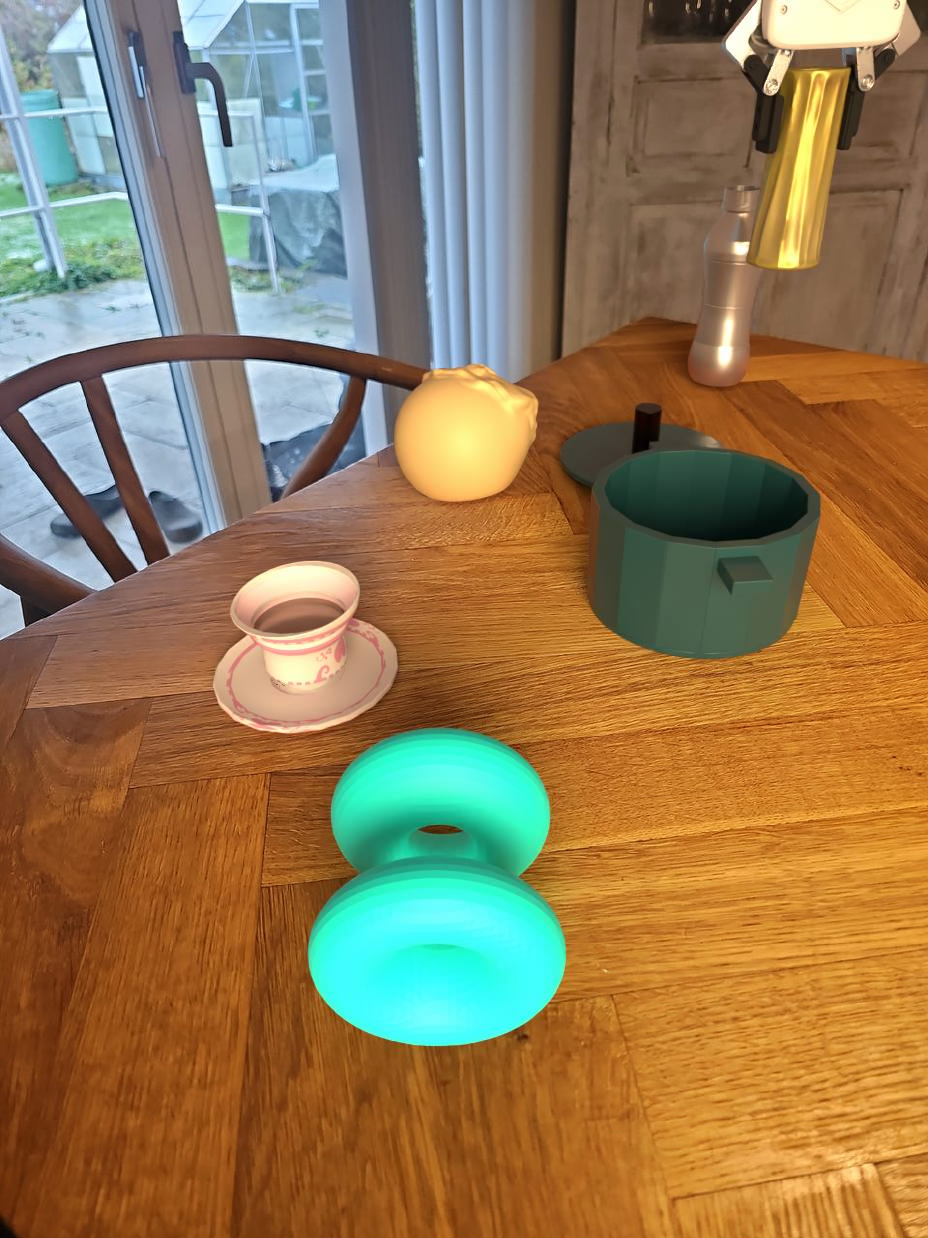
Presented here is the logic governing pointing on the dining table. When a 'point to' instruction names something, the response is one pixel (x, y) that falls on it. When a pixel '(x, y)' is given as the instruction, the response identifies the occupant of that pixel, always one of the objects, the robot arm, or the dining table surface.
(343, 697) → the teacup
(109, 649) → the dining table surface
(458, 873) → the turquoise spool
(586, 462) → the pot lid
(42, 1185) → the dining table surface
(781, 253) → the vase
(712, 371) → the plastic bottle
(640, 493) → the pot
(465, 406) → the sculpture
